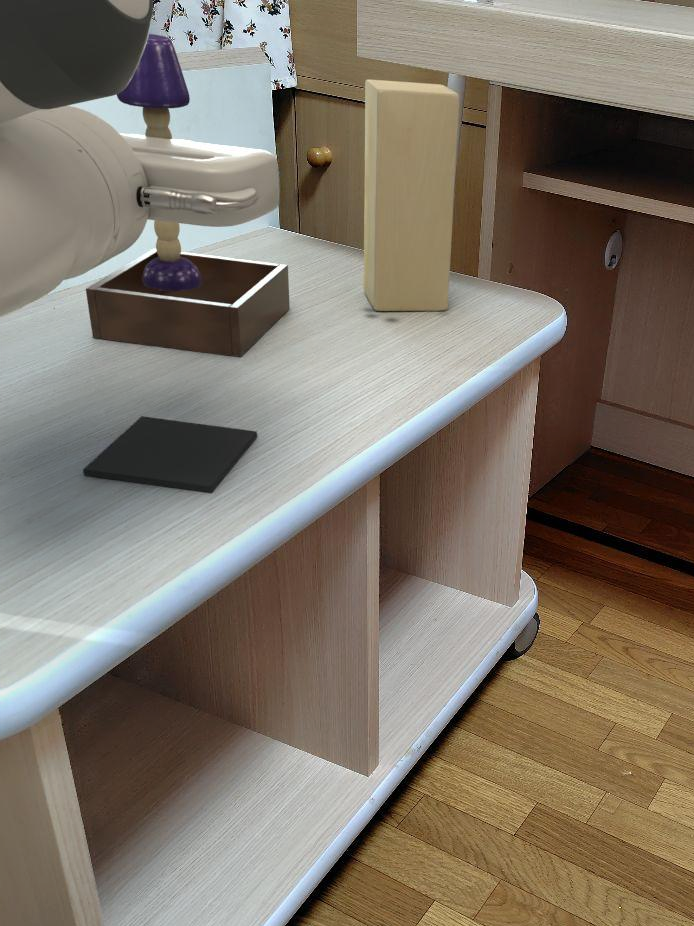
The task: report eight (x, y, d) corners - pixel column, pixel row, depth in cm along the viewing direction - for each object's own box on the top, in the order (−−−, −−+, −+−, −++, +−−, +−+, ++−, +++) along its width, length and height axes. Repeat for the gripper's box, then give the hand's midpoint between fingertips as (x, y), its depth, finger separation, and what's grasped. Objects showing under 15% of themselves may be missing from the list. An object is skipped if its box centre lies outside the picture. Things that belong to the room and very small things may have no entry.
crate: (92, 337, 88) (85, 288, 86) (158, 292, 100) (153, 247, 98) (241, 357, 88) (237, 308, 85) (289, 309, 99) (288, 264, 97)
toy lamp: (218, 287, 74) (198, 40, 65) (161, 298, 71) (133, 40, 62) (182, 271, 76) (159, 30, 68) (126, 280, 73) (94, 30, 65)
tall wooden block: (433, 288, 109) (441, 82, 98) (450, 311, 103) (460, 94, 92) (361, 289, 107) (361, 77, 96) (374, 312, 101) (375, 89, 90)
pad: (83, 475, 68) (82, 469, 67) (142, 421, 75) (141, 415, 75) (211, 492, 67) (211, 486, 67) (257, 437, 75) (257, 431, 75)
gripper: (234, 153, 56) (308, 118, 68) (-115, 112, 56) (18, 85, 68) (241, 264, 59) (310, 212, 71) (-89, 224, 60) (34, 179, 72)
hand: (164, 149), depth 70 cm, fingers closed on toy lamp
